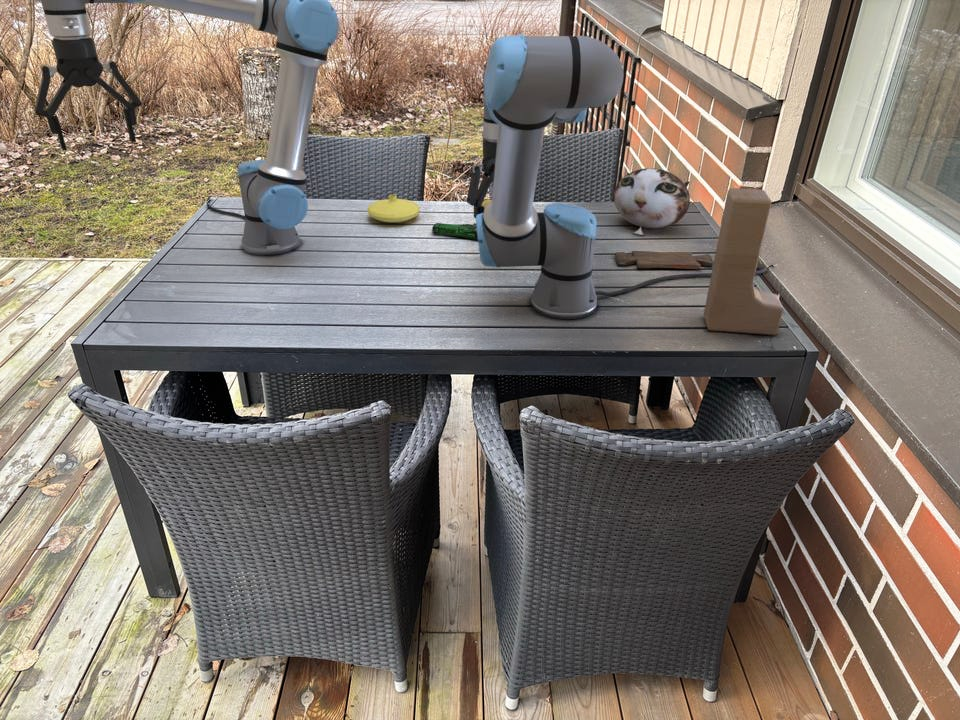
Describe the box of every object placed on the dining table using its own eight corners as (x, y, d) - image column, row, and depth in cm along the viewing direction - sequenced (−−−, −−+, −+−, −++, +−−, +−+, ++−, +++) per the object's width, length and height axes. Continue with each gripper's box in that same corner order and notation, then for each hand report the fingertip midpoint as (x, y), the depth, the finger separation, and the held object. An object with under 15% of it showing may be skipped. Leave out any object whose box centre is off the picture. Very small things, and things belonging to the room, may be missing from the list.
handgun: (502, 218, 210) (482, 233, 198) (502, 228, 212) (482, 243, 199) (452, 211, 216) (430, 225, 203) (452, 221, 217) (430, 235, 205)
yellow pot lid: (391, 206, 226) (390, 184, 222) (430, 216, 218) (430, 194, 214) (356, 220, 215) (355, 197, 211) (396, 231, 207) (395, 207, 203)
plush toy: (594, 216, 205) (617, 152, 207) (611, 239, 221) (631, 180, 223) (669, 229, 195) (692, 162, 196) (681, 253, 210) (702, 191, 212)
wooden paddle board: (717, 272, 186) (707, 257, 194) (718, 266, 185) (709, 251, 193) (618, 268, 186) (613, 254, 195) (619, 262, 185) (613, 248, 194)
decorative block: (777, 336, 155) (812, 202, 140) (707, 331, 157) (733, 198, 142) (770, 320, 162) (802, 191, 146) (702, 315, 163) (727, 187, 148)
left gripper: (1, 43, 134) (35, 156, 145) (142, 35, 146) (164, 141, 157) (-2, 38, 140) (31, 148, 150) (134, 32, 152) (156, 134, 162)
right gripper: (528, 131, 181) (524, 217, 193) (451, 139, 172) (452, 229, 184) (543, 137, 176) (538, 226, 187) (465, 146, 167) (465, 238, 178)
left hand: (99, 144), depth 154 cm, fingers open, 13 cm apart
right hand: (495, 227), depth 185 cm, fingers closed on canister, 9 cm apart
